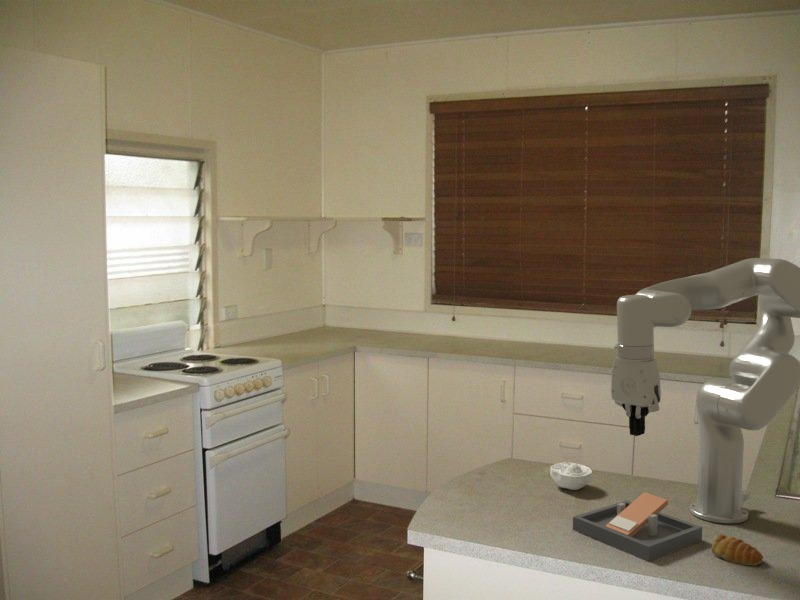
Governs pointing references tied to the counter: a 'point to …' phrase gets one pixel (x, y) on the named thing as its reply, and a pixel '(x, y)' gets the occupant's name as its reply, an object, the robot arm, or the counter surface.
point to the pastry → (736, 551)
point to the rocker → (637, 514)
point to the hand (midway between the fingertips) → (637, 434)
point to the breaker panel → (639, 532)
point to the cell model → (570, 475)
